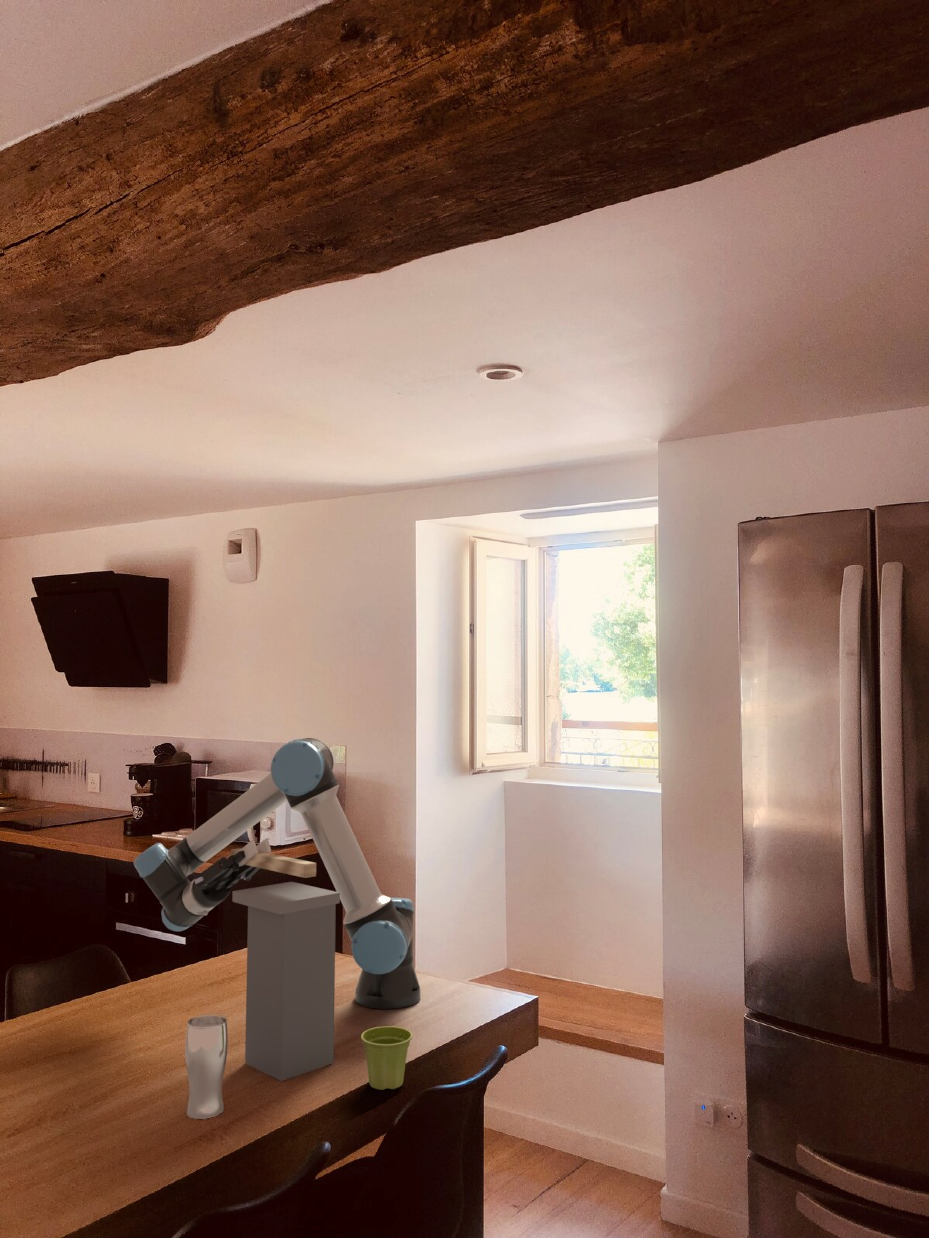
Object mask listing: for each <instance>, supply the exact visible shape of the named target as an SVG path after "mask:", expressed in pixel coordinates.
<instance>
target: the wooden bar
mask: <svg viewBox="0 0 929 1238" xmlns="http://www.w3.org/2000/svg"><path fill="white" fill-rule="evenodd" d="M242 848H243V847H241V848H240V847H239V848H232V849H230V856H231V855H235V854H236V853H238V852H239V851H240V850H241V849H242ZM244 865H248V866H253V867H258V868H260V869H263V870H268V871H273V872H276V873H282V874H285V875H286V874H287V875H290V876H296V877H299V878H303V879H304V878H305V879H307V878H312V877H313V878H314V877H317V862H313V861H308V860H304V859H298V858H293V857H289V856H284V855H278V854H273V853H263V852H258V853H257V854H256V855H255V856H254V857H252V858H251V859H250V860H249V861H248V862H246V863H245V864H244Z"/></svg>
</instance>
